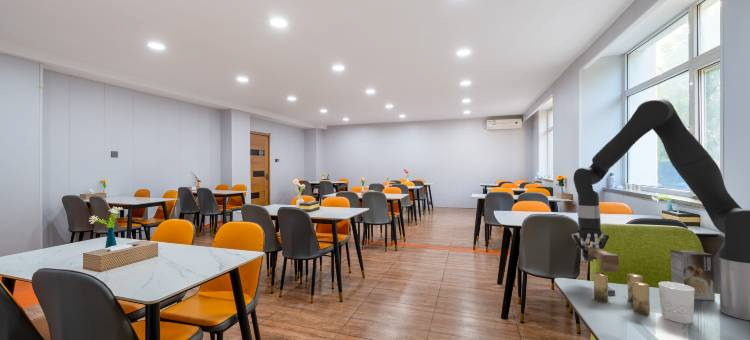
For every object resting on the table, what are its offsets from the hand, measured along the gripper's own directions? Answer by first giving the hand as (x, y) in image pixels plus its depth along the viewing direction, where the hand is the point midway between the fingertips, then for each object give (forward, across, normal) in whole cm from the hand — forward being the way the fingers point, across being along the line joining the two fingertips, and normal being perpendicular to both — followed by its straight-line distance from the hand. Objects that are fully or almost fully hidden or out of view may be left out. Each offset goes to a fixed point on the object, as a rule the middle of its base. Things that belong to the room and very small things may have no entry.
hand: (590, 258), depth 126 cm
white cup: (+11, +9, -30) cm, 33 cm away
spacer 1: (+10, -6, -18) cm, 21 cm away
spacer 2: (+10, +5, -18) cm, 21 cm away
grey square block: (+10, 0, -10) cm, 15 cm away
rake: (+1, 0, -6) cm, 6 cm away
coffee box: (+11, +28, -10) cm, 32 cm away
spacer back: (+10, +1, -27) cm, 29 cm away
